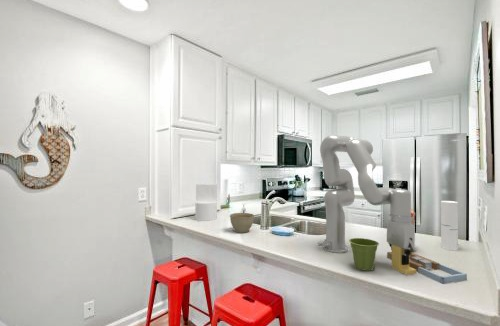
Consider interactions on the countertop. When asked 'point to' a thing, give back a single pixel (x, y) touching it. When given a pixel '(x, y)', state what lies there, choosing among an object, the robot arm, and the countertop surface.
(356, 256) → the plant pot
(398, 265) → the l-shaped block
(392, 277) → the countertop surface
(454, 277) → the tray
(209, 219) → the cylinder
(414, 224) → the cracker box
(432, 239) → the countertop surface
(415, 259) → the pale grey block
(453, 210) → the cylindrical container
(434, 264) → the slot board
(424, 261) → the chip
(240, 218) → the planter bowl
